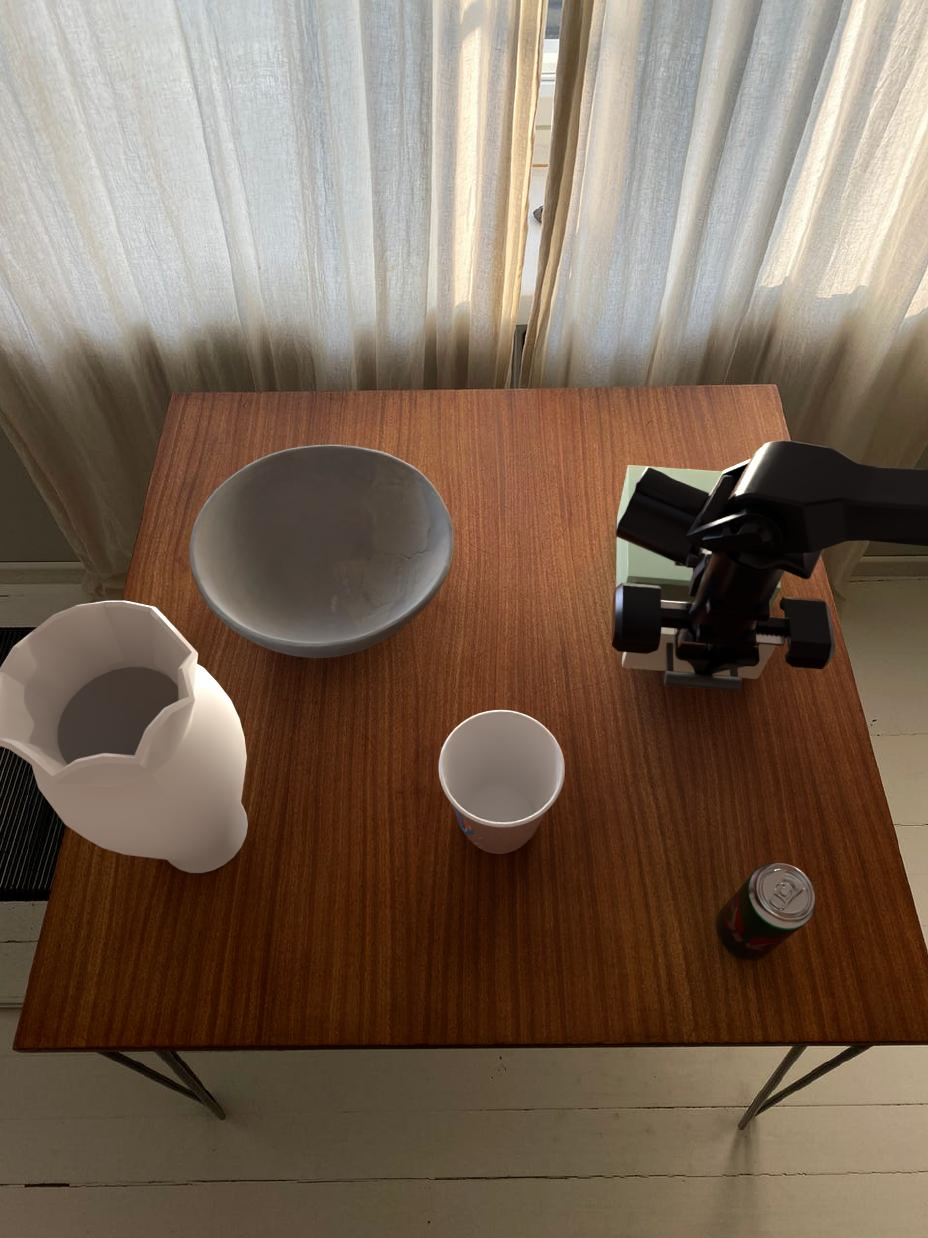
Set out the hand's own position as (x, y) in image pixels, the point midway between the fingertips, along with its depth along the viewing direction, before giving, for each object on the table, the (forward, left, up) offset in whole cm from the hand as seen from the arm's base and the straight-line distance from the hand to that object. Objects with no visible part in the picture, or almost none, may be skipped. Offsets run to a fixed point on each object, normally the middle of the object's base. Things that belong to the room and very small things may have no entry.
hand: (699, 671), depth 84 cm
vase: (+45, +19, -5) cm, 49 cm away
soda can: (-4, +23, -5) cm, 24 cm away
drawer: (0, -7, -4) cm, 8 cm away
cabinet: (0, -15, -5) cm, 16 cm away
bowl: (+38, -9, -5) cm, 40 cm away
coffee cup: (+18, +15, -5) cm, 24 cm away
